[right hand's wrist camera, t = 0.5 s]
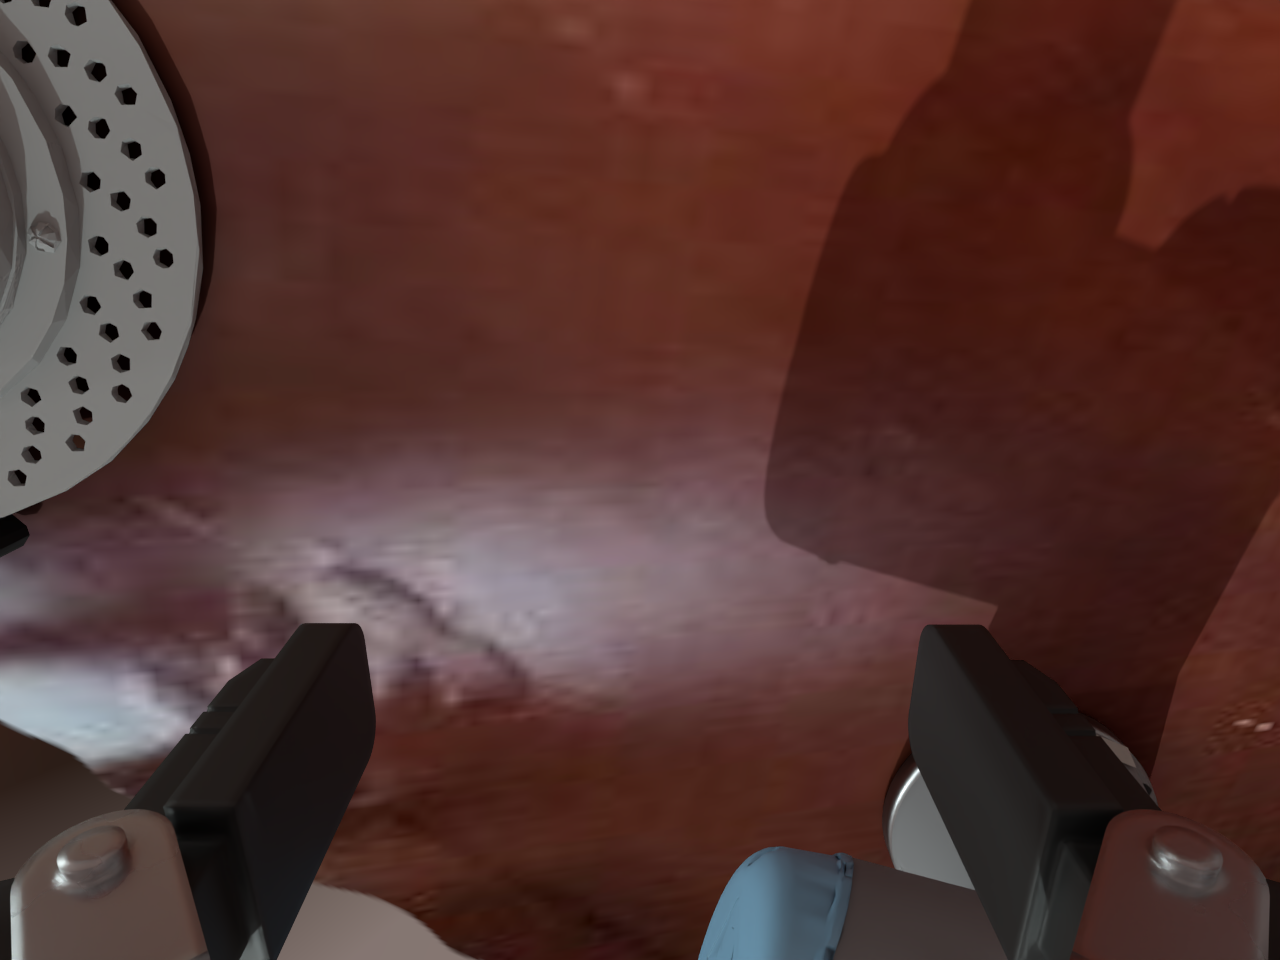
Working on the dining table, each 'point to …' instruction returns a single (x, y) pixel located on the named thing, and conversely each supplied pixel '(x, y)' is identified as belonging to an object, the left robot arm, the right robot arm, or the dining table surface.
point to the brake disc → (85, 247)
